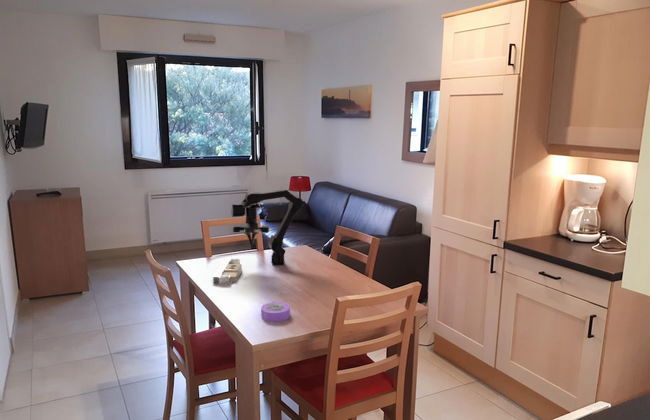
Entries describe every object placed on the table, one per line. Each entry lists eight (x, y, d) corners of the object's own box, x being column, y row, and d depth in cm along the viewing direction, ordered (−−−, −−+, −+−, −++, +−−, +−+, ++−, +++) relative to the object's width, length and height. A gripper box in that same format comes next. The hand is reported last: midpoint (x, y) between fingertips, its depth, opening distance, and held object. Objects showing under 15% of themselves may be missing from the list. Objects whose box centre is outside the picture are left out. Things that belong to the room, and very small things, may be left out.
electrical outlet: (220, 274, 234) (227, 263, 251) (221, 282, 235) (228, 271, 252) (235, 274, 234) (241, 263, 251) (235, 282, 235) (241, 271, 252)
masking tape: (255, 317, 194) (255, 308, 194) (273, 308, 204) (273, 299, 203) (277, 324, 188) (277, 315, 187) (295, 314, 198) (295, 306, 197)
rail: (240, 265, 261) (239, 258, 260) (229, 284, 231) (229, 277, 230) (225, 265, 261) (225, 258, 260) (212, 284, 230) (212, 277, 230)
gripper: (230, 218, 247) (231, 248, 250) (267, 219, 248) (267, 248, 250) (234, 214, 258) (235, 242, 261) (269, 215, 258) (269, 243, 261)
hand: (251, 244), depth 258 cm, fingers closed
